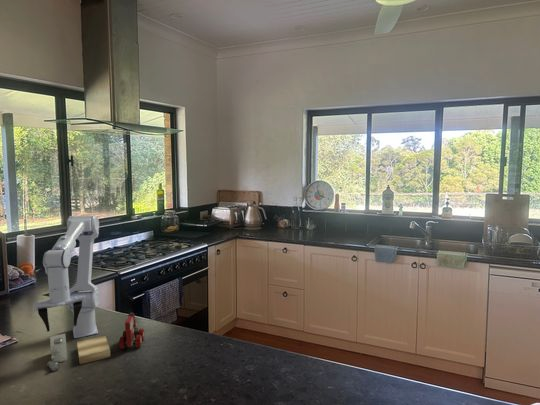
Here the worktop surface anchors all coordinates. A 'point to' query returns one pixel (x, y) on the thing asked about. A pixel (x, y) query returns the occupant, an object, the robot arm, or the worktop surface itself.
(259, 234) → the worktop surface
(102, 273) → the worktop surface
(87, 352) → the tan wooden block
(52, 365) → the bolt
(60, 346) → the block
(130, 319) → the toy fire truck
